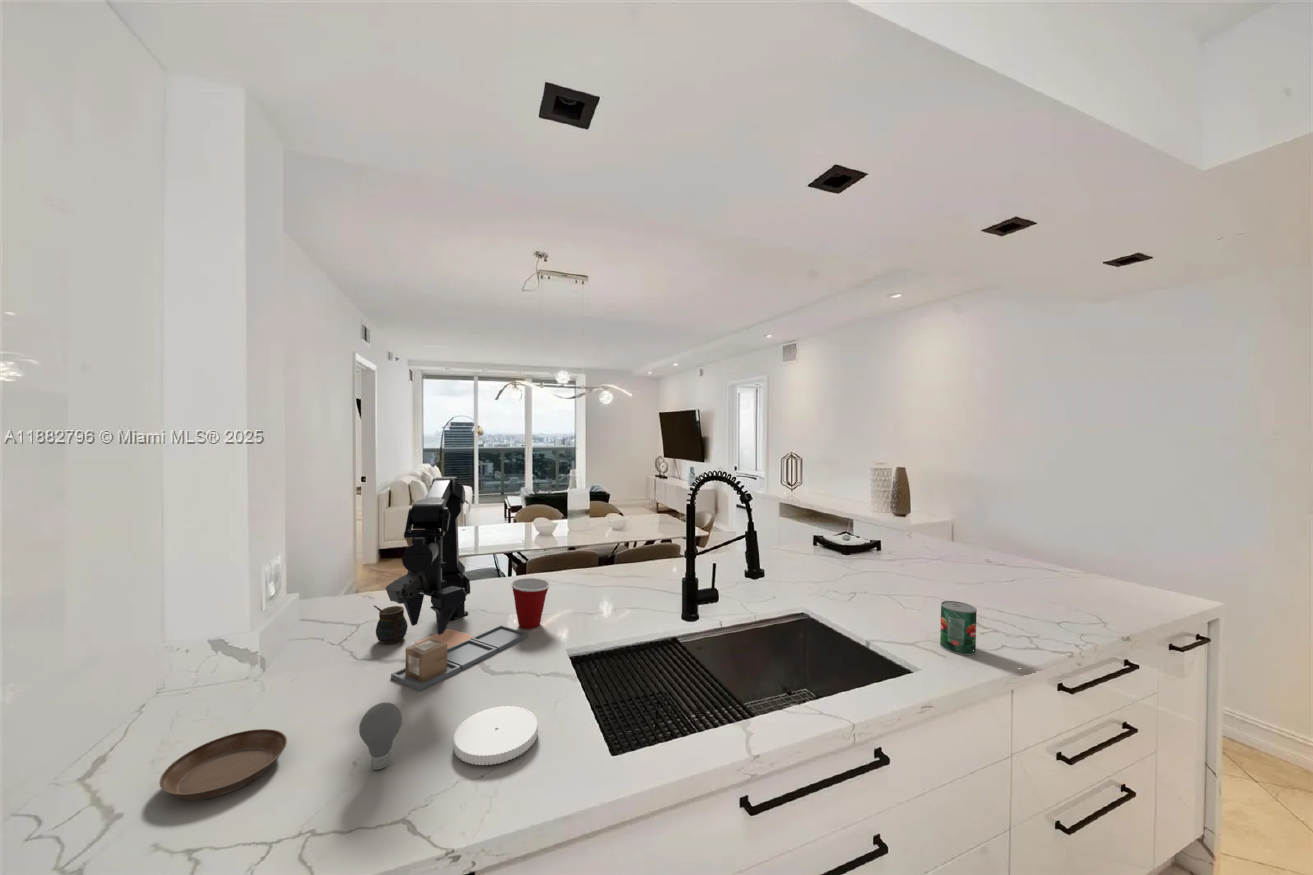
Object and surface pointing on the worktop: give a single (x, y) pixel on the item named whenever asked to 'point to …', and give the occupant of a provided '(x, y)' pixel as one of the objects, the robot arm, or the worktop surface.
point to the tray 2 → (469, 653)
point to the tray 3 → (500, 637)
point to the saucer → (223, 764)
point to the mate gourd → (391, 625)
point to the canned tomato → (958, 627)
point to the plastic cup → (529, 600)
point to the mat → (449, 637)
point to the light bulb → (380, 732)
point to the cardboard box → (426, 659)
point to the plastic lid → (495, 735)
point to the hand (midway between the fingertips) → (427, 629)
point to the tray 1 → (420, 686)
